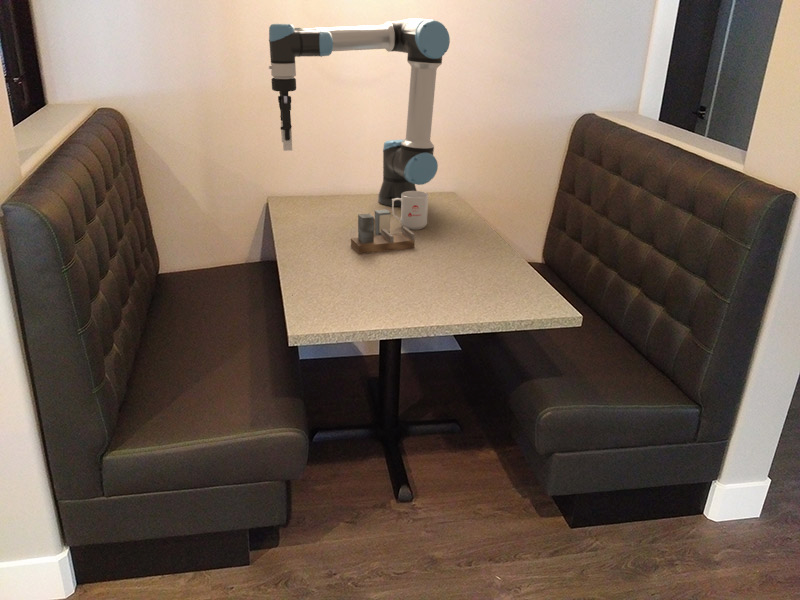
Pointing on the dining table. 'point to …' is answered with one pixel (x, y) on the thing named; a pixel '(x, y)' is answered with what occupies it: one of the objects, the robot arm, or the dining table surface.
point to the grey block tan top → (382, 221)
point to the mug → (413, 209)
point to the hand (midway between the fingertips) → (286, 146)
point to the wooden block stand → (379, 237)
